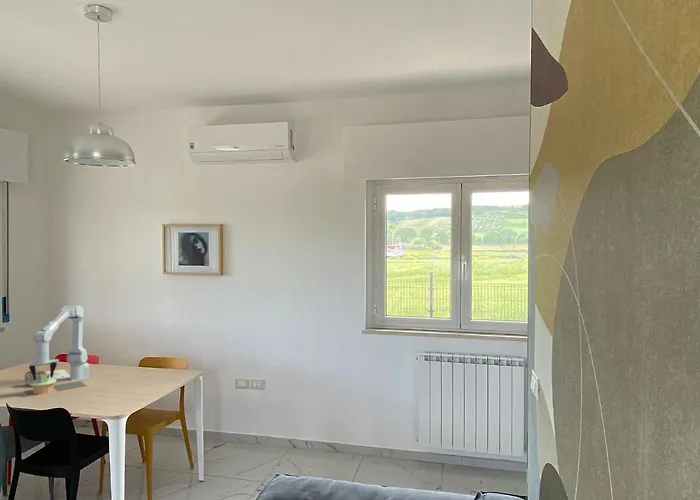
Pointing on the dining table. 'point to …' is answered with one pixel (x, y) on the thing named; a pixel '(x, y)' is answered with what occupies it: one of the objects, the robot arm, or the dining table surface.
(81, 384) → the mat
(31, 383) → the lid
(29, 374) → the tin
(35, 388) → the bowl
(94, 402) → the dining table surface
